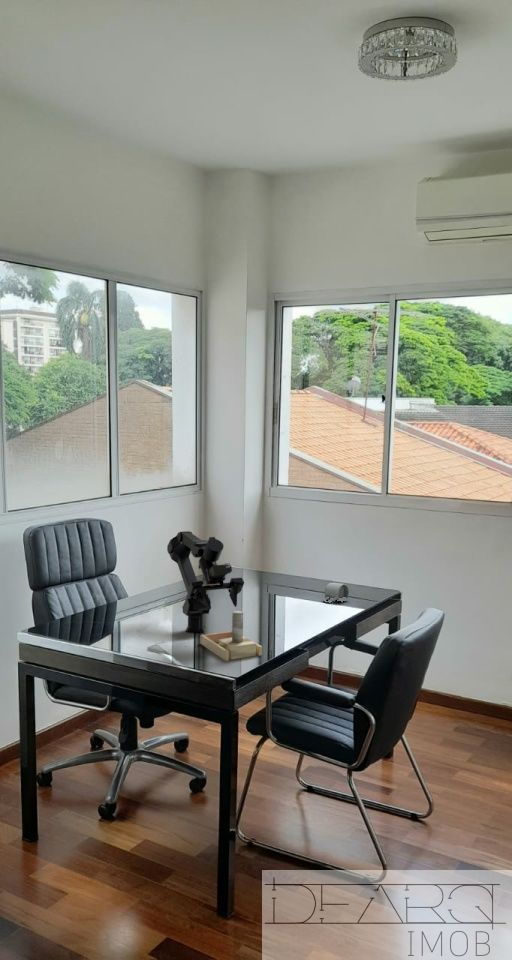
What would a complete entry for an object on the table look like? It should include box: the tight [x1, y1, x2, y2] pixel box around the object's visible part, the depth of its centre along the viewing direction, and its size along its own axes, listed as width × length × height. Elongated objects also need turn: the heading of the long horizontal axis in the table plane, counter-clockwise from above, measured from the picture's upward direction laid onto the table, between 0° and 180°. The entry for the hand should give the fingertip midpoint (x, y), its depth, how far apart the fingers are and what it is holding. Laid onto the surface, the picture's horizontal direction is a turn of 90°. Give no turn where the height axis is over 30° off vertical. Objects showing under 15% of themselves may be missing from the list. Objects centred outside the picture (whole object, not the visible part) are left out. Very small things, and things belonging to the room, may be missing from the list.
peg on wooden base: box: [218, 610, 257, 660], centre depth 253 cm, size 9×9×14 cm
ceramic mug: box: [322, 582, 350, 602], centre depth 329 cm, size 11×8×8 cm
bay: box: [199, 630, 263, 661], centre depth 258 cm, size 20×14×4 cm
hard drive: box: [147, 641, 172, 657], centre depth 259 cm, size 2×8×12 cm
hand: (223, 607), depth 258 cm, fingers open, 9 cm apart
